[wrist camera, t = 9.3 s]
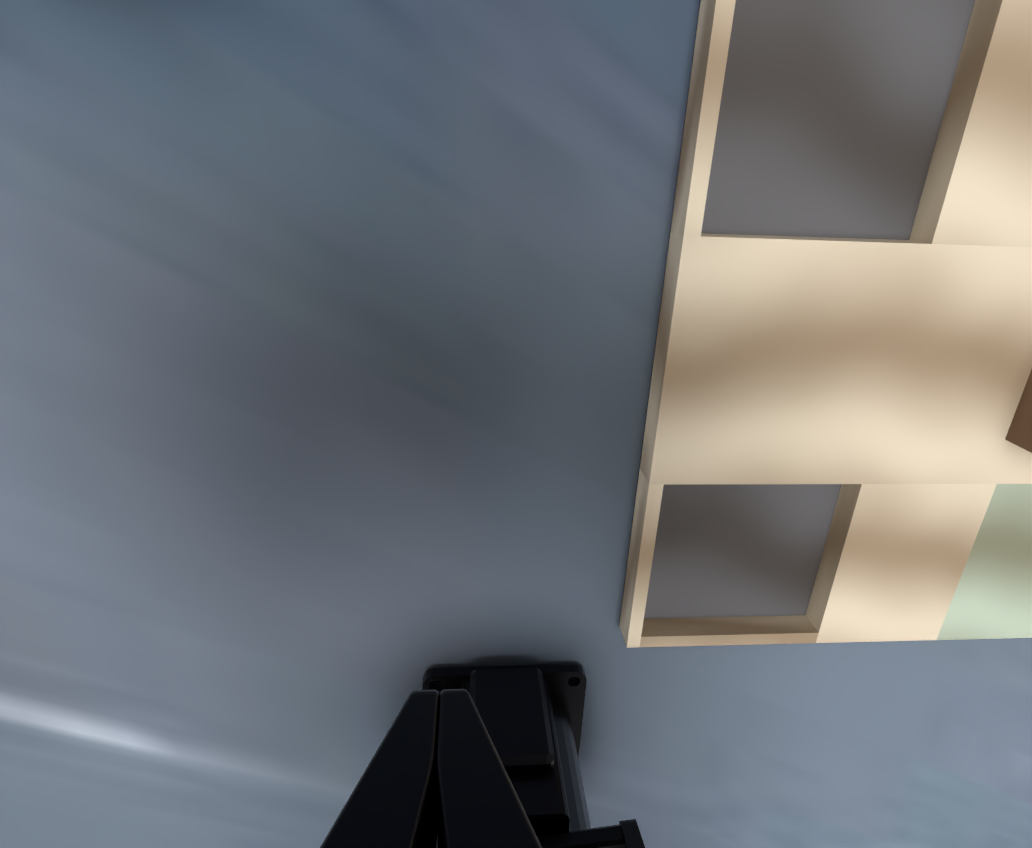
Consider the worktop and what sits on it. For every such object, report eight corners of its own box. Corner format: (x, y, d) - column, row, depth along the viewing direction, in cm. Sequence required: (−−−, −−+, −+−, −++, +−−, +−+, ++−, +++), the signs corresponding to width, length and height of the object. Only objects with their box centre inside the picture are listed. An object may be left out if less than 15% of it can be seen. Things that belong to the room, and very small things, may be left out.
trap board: (1061, 616, 26) (1123, 664, 23) (619, 625, 24) (636, 678, 22) (1358, -5, 17) (1506, -33, 15) (707, -52, 16) (751, -92, 13)
